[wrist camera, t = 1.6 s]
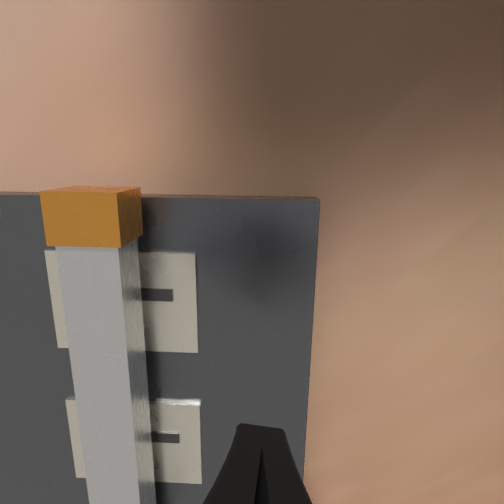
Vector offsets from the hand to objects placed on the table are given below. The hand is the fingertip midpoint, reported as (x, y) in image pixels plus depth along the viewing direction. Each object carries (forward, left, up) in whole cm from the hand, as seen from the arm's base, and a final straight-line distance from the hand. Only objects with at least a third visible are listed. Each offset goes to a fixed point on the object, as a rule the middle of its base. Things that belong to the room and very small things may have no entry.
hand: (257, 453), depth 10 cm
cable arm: (-7, -3, -7) cm, 10 cm away
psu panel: (-7, -4, -8) cm, 11 cm away
